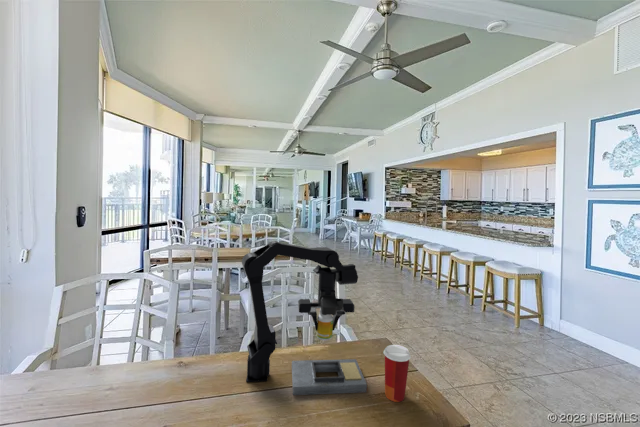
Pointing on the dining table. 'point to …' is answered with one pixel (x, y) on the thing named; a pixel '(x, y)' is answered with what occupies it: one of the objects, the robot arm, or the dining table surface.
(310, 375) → the grey base block
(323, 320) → the supplement bottle
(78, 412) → the dining table surface
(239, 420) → the dining table surface
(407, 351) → the paper cup
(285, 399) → the dining table surface
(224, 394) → the dining table surface
